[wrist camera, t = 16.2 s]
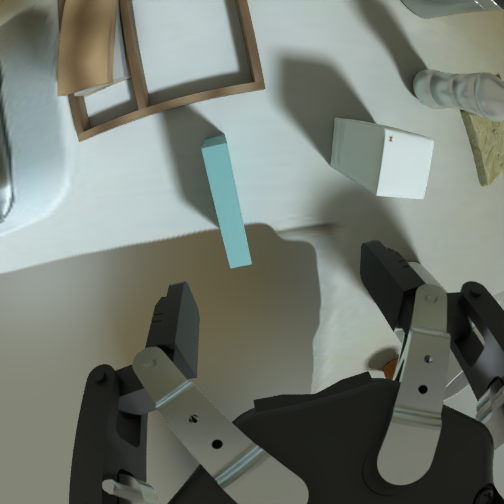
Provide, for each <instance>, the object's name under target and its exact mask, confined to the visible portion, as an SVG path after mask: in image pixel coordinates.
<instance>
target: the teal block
mask: <svg viewBox="0 0 504 504" xmlns="http://www.w3.org/2000/svg"><path fill="white" fill-rule="evenodd" d="M201 150H202V154H203V159H204V163H205V167H206V171H207V176H208V180H209V184H210V188H211V192H212V197H213V201H214V205H215V209H216V213H217V217H218V221H219V225H220V229H221V233H222V237H223V241H224V245H225V248H226V253H227V256H228V260H229V264H230V268H235V267H239V266H244V265H249V264H251V258H250V253H249V249H248V244H247V239H246V234H245V229H244V224H243V219H242V215H241V210H240V205H239V200H238V195H237V190H236V185H235V181H234V176H233V171H232V166H231V161H230V156H229V151H228V146H227V142H226V138H225V134H224V135H219V136H215V137H210V138H206V139H205V141H204V143H203V145H202V148H201Z"/></svg>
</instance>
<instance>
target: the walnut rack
mask: <svg viewBox="0 0 504 504" xmlns="http://www.w3.org/2000/svg"><path fill="white" fill-rule="evenodd" d="M65 1H66V0H58V10H59V30H60V33H61V25H62V18H63V12H64V6H65ZM119 1H120V10H121V17H122V25H123V31H124V38H125V44H126V50H127V56H128V61H129V66H130V72H131V77H132V82H133V86H134V91H135V96H136V100H137V105H138V109H139V110H137V111H135V112H132V113H129V114H126V115H123V116H121V117H118V118H116V119H113V120H111V121H108V122H106V123H103V124H101V125H98V126H96V127H94V128H91V127H90V123H89V119H88V114H87V110H86V105H85V101H84V96H75V95H74V93H73V94H69V95H68V97H69V102H70V106H71V111H72V115H73V120H74V124H75V128H76V132H77V136H78V140H79V142H80V141H83V140H86V139H89V138H91V137H93V136H96V135H98V134H100V133H103V132H105V131H108V130H110V129H113V128H115V127H118V126H121V125H123V124H126V123H129V122H132V121H135V120H137V119H140V118H143V117H146V116H149V115H153V114H156V113H159V112H162V111H166V110H169V109H173V108H176V107H180V106H184V105H188V104H192V103H196V102H200V101H204V100H209V99H213V98H218V97H223V96H228V95H233V94H239V93H245V92H251V91H258V90H263V89H265V84H264V79H263V74H262V69H261V64H260V59H259V54H258V49H257V44H256V39H255V34H254V30H253V25H252V21H251V16H250V12H249V7H248V3H247V0H235V1H236V6H237V10H238V15H239V19H240V24H241V28H242V33H243V38H244V42H245V47H246V52H247V57H248V62H249V67H250V72H251V77H252V83H246V84H239V85H234V86H228V87H223V88H218V89H213V90H209V91H204V92H200V93H196V94H191V95H187V96H184V97H180V98H176V99H173V100H169V101H166V102H162V103H159V104H156V105H152V106H151V104H150V99H149V95H148V90H147V85H146V81H145V76H144V71H143V66H142V60H141V55H140V50H139V44H138V38H137V32H136V26H135V20H134V13H133V6H132V0H119Z"/></svg>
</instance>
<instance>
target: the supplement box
mask: <svg viewBox="0 0 504 504" xmlns="http://www.w3.org/2000/svg"><path fill="white" fill-rule="evenodd" d="M433 145H434V140H433V139H431V138H428V137H425V136H422V135H418V134H415V133H412V132H408V131H404V130H401V129H397V128H393V127H389V126H384V125H380V124H375V123H371V122H366V121H360V120H353V119H345V118H337V117H335V120H334V132H333V143H332V154H331V167H332V168H334V169H336V170H337V171H339V172H340V173H342V174H344V175H345V176H347V177H349V178H350V179H352V180H353V181H355V182H357V183H358V184H360V185H361V186H363V187H364V188H366V189H367V190H369V191H370V192H372V193H373V194H375V195H376V196H386V197H400V198H414V199H424V195H425V190H426V186H427V181H428V175H429V170H430V164H431V157H432V152H433Z"/></svg>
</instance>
